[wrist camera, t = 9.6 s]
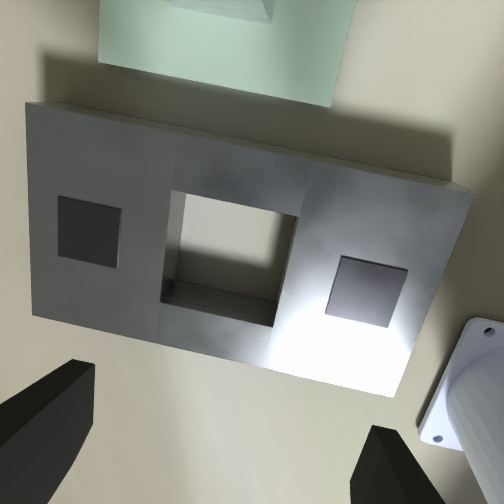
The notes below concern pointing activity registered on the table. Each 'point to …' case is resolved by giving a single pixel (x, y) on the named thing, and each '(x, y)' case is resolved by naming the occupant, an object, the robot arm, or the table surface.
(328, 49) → the rubber pad
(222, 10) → the steel peg
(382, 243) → the plate with square hole
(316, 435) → the table surface
